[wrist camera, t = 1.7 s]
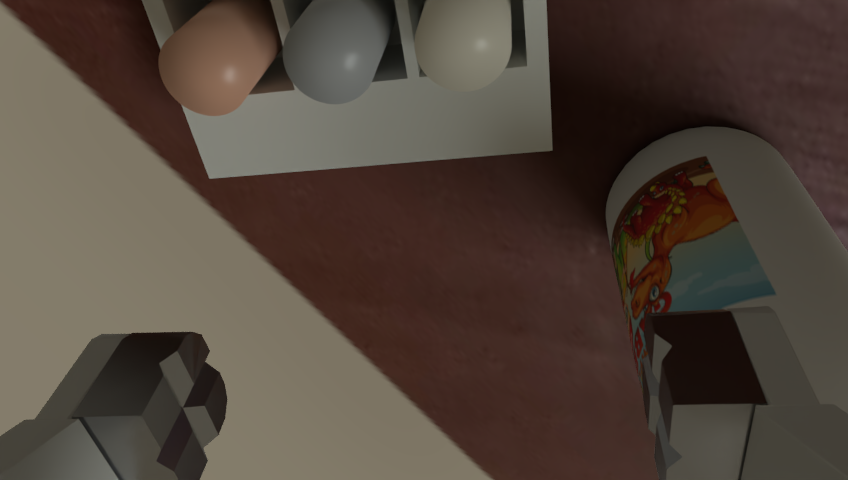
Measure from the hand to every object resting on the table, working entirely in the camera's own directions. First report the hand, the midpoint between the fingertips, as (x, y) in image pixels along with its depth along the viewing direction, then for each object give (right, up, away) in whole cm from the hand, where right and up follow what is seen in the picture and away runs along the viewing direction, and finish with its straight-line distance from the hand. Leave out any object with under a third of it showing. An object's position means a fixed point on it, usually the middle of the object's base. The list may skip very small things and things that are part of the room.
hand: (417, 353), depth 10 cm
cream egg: (+2, +10, +13) cm, 17 cm away
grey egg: (-2, +10, +14) cm, 17 cm away
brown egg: (-6, +9, +15) cm, 19 cm away
